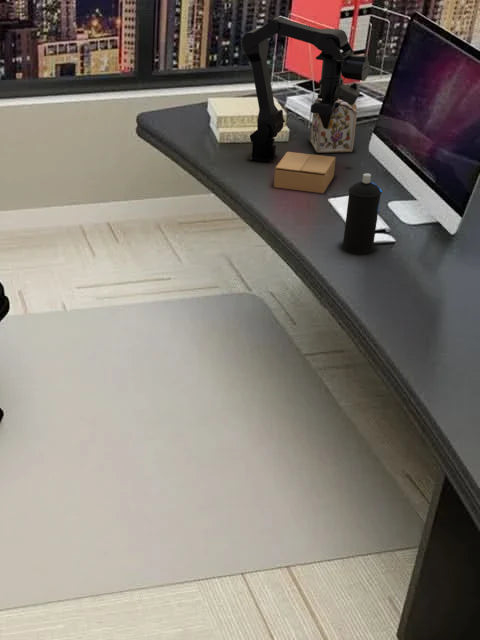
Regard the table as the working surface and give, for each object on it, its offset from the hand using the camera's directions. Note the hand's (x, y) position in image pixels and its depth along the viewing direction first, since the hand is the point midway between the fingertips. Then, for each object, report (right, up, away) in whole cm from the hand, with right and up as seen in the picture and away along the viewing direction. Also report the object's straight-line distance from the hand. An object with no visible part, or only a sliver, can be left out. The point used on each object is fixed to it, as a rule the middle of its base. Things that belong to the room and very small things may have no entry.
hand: (325, 128), depth 300 cm
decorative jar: (+7, 0, +24) cm, 25 cm away
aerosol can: (-1, -42, -39) cm, 57 cm away
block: (-9, -15, +1) cm, 18 cm away
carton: (-7, -16, 0) cm, 17 cm away
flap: (-10, -11, -2) cm, 15 cm away
